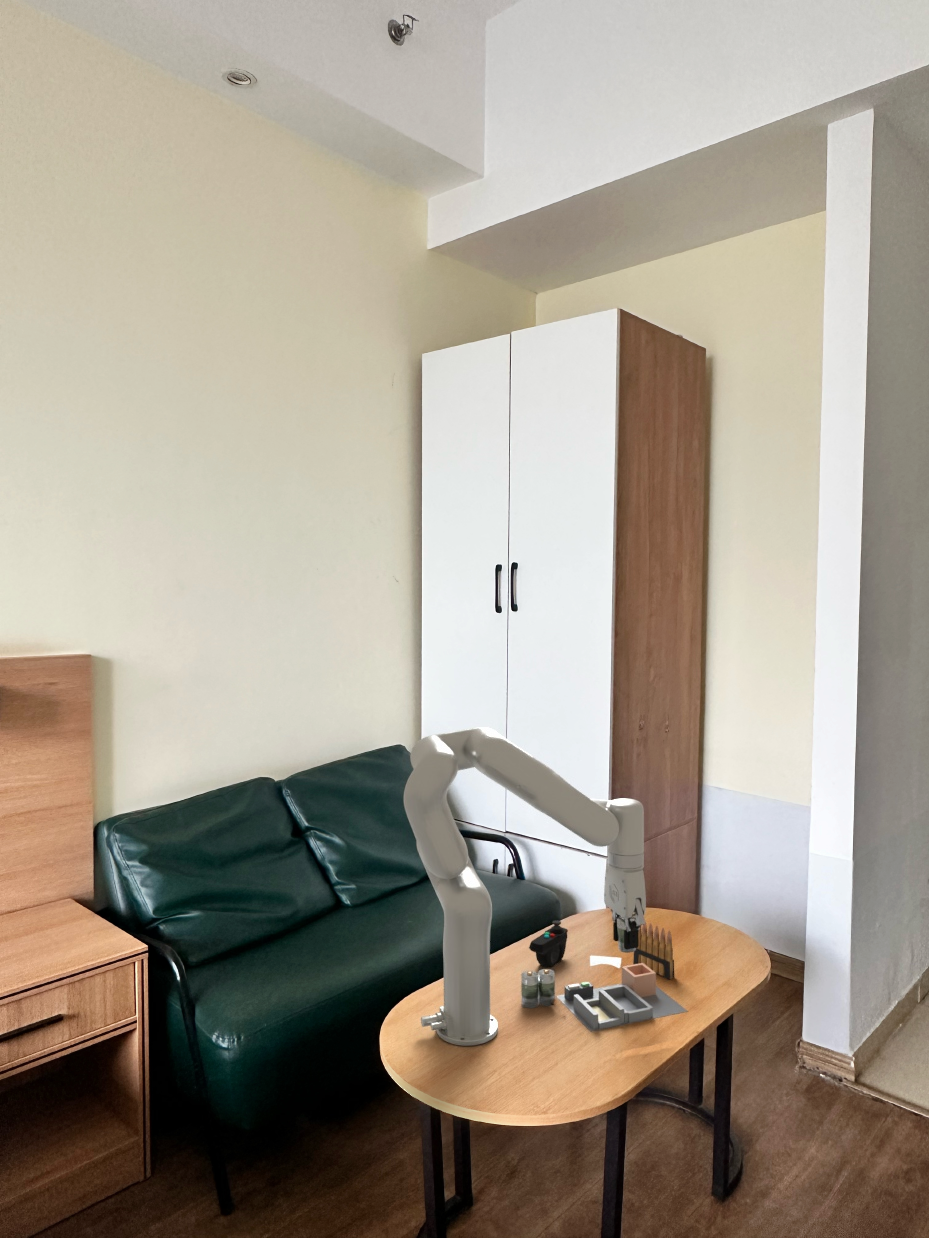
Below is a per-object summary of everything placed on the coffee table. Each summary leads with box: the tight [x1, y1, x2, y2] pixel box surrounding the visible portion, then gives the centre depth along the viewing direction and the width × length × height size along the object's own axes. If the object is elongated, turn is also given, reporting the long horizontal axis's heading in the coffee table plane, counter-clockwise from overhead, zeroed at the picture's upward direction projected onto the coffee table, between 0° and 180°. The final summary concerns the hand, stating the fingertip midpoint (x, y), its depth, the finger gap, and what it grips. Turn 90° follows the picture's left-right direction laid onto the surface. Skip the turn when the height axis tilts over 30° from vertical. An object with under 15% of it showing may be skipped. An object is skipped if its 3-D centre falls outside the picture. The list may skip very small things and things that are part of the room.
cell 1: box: [520, 970, 539, 1009], centre depth 192 cm, size 4×4×7 cm
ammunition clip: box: [632, 921, 675, 981], centre depth 205 cm, size 11×2×12 cm, turn 39°
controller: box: [528, 920, 569, 969], centre depth 210 cm, size 4×12×10 cm, turn 142°
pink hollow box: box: [621, 963, 657, 997], centre depth 196 cm, size 5×5×5 cm
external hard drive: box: [589, 955, 622, 969], centre depth 207 cm, size 2×8×12 cm
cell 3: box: [617, 916, 636, 954], centre depth 187 cm, size 4×4×7 cm
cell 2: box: [537, 968, 556, 1007], centre depth 193 cm, size 4×4×7 cm
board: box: [555, 981, 689, 1032], centre depth 190 cm, size 23×16×4 cm
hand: (625, 943), depth 188 cm, fingers closed on cell 3, 3 cm apart
